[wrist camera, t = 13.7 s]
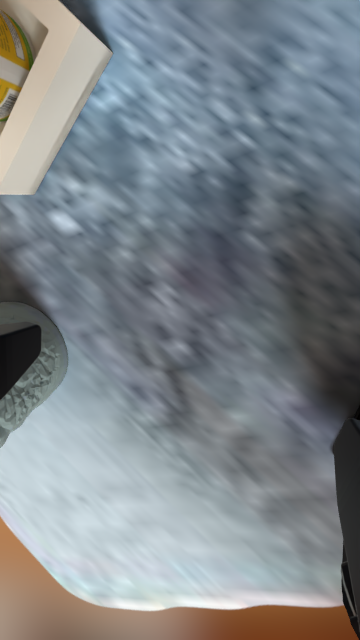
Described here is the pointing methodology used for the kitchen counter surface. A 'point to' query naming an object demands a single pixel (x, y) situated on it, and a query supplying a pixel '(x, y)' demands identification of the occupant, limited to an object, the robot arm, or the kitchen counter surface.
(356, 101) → the kitchen counter surface
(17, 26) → the supplement bottle
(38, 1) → the cream square tray
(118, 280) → the kitchen counter surface
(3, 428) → the grey green cup
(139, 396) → the kitchen counter surface
